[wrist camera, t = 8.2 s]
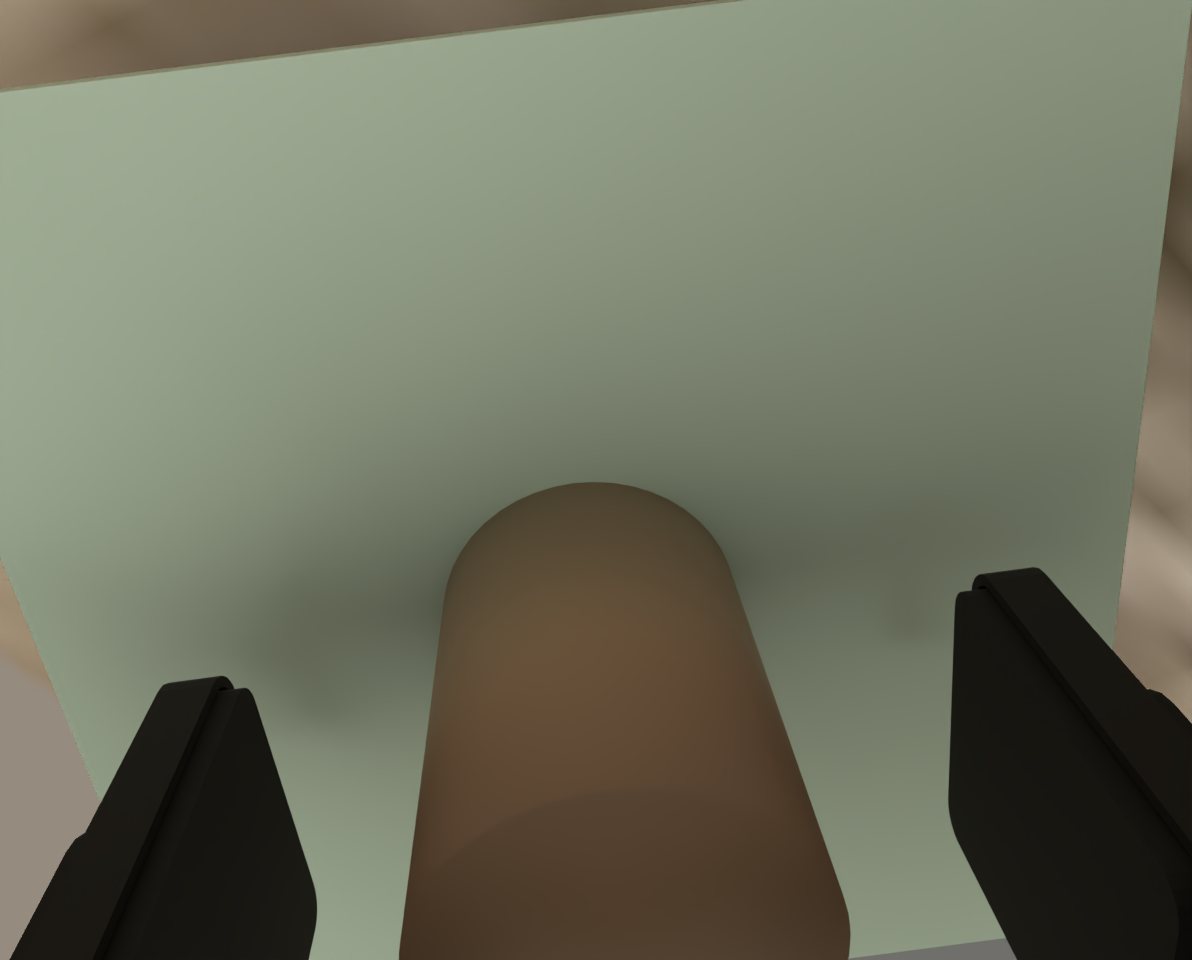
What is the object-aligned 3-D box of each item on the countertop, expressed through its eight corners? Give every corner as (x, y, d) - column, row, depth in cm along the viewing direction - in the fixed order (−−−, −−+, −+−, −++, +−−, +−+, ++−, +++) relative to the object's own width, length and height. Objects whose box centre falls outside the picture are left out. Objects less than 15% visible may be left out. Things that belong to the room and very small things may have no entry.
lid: (1153, -53, 11) (1758, -83, 5) (1054, 886, 16) (1304, 1316, 11) (-134, 106, 11) (-780, 231, 5) (213, 995, 16) (66, 1481, 11)
